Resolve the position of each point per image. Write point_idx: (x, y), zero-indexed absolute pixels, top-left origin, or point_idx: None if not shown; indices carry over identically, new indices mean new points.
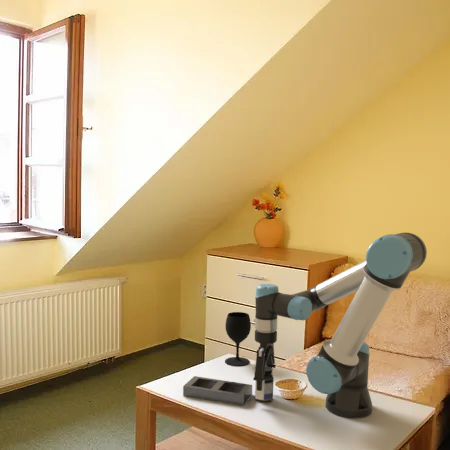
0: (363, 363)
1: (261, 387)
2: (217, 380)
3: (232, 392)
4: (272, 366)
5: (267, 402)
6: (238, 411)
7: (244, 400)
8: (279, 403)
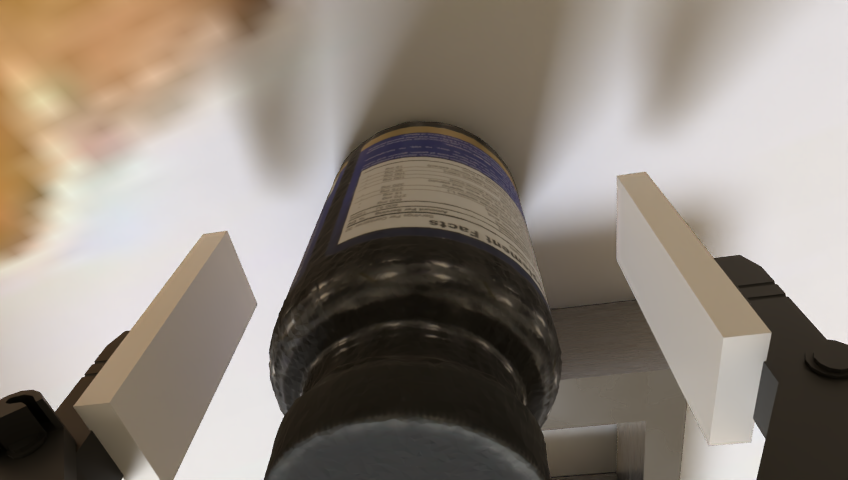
0: None
1: (734, 284)
2: None
3: (647, 463)
4: (64, 443)
5: (487, 146)
6: (783, 290)
7: (644, 329)
8: (426, 19)
